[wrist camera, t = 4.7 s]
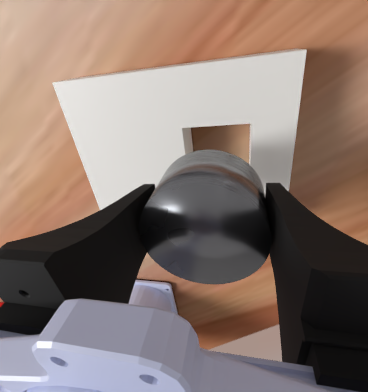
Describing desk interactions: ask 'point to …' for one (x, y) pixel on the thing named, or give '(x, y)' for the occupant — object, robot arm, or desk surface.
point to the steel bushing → (207, 219)
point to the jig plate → (182, 116)
